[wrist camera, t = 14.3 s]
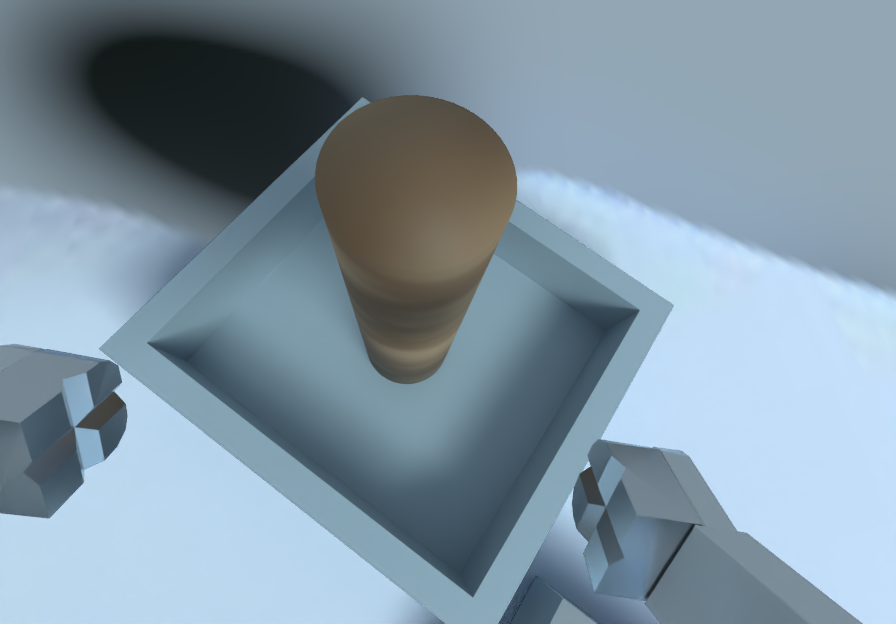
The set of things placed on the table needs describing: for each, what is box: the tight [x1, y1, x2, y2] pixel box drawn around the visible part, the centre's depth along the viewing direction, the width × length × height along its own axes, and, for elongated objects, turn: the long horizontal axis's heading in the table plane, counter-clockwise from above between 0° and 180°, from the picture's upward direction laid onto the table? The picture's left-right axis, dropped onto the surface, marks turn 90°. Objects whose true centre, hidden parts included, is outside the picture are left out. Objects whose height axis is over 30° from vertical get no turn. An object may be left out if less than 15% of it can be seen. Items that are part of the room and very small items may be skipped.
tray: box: [99, 97, 674, 624], centre depth 21 cm, size 18×16×4 cm
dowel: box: [315, 95, 517, 384], centre depth 15 cm, size 4×4×14 cm
